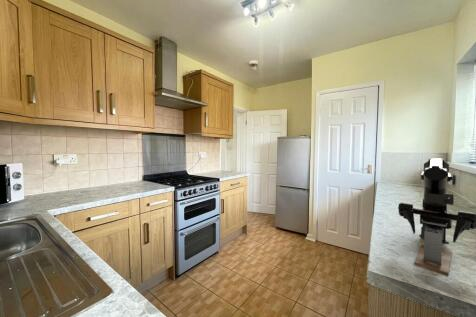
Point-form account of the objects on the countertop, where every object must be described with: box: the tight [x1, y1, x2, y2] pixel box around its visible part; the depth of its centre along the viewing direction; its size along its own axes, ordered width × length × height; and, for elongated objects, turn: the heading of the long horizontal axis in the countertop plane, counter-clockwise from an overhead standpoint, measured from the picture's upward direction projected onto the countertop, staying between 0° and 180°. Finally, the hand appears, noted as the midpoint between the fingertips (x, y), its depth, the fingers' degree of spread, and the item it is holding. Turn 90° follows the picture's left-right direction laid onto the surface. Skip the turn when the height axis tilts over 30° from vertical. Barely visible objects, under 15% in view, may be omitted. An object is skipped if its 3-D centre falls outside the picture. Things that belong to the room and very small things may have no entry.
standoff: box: [423, 227, 443, 266], centre depth 64 cm, size 4×4×10 cm
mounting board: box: [413, 243, 453, 276], centre depth 66 cm, size 18×8×2 cm, turn 130°
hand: (433, 237), depth 63 cm, fingers open, 9 cm apart
